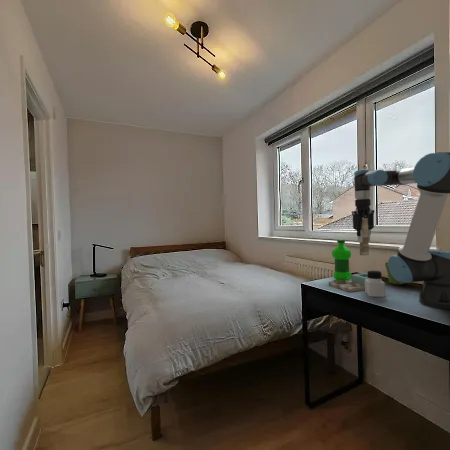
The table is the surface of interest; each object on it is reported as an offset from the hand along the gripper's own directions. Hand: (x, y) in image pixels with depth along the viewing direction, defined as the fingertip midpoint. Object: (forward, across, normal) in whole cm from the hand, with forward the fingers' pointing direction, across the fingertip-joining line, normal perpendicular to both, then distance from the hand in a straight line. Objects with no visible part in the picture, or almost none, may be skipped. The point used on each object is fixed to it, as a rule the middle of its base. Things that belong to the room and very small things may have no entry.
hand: (364, 241), depth 149 cm
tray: (+25, +10, -2) cm, 27 cm away
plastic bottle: (+25, +3, -14) cm, 29 cm away
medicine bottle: (+25, +8, +14) cm, 30 cm away
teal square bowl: (+25, 0, 0) cm, 25 cm away
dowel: (+7, 0, 0) cm, 7 cm away
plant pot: (+25, -19, +3) cm, 31 cm away
